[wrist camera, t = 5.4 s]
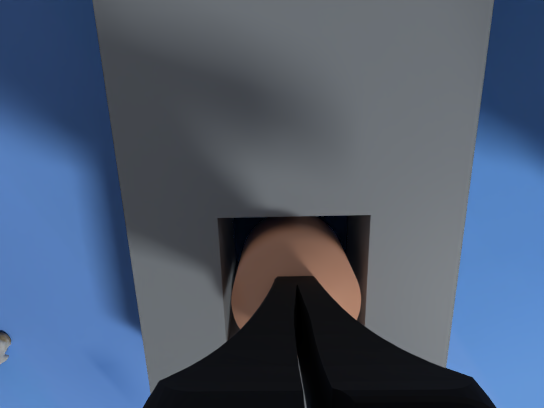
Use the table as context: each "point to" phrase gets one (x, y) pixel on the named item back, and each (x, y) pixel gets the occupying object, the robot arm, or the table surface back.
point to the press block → (293, 151)
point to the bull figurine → (4, 346)
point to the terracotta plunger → (292, 263)
